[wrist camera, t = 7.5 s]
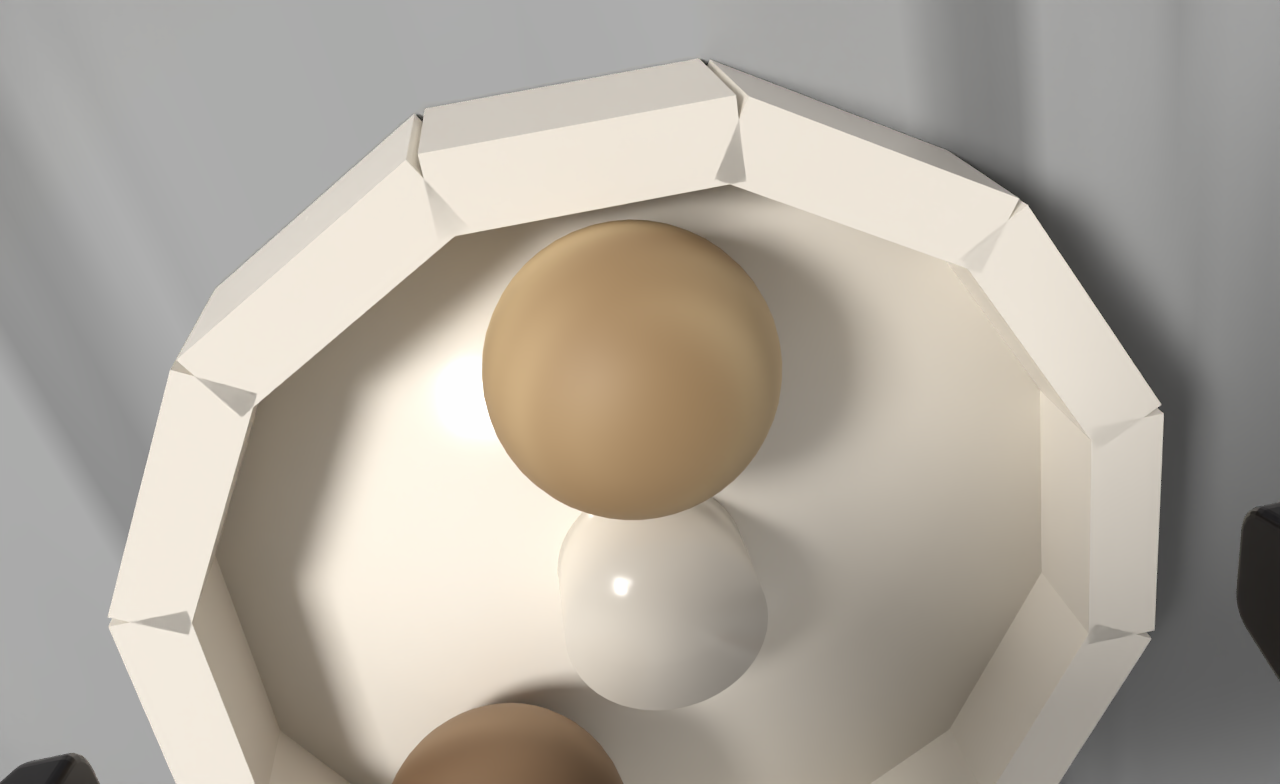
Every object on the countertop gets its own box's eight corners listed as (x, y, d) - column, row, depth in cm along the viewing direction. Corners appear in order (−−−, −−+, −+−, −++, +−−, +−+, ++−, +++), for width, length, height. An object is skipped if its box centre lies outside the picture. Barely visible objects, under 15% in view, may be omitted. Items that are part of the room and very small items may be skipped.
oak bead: (762, 201, 16) (855, 292, 13) (713, 445, 17) (785, 584, 14) (489, 170, 15) (513, 260, 12) (460, 429, 16) (475, 572, 13)
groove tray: (1077, 779, 22) (1144, 882, 20) (316, 944, 21) (299, 1070, 19) (1084, -13, 16) (1180, 12, 14) (16, 182, 15) (-58, 242, 13)
